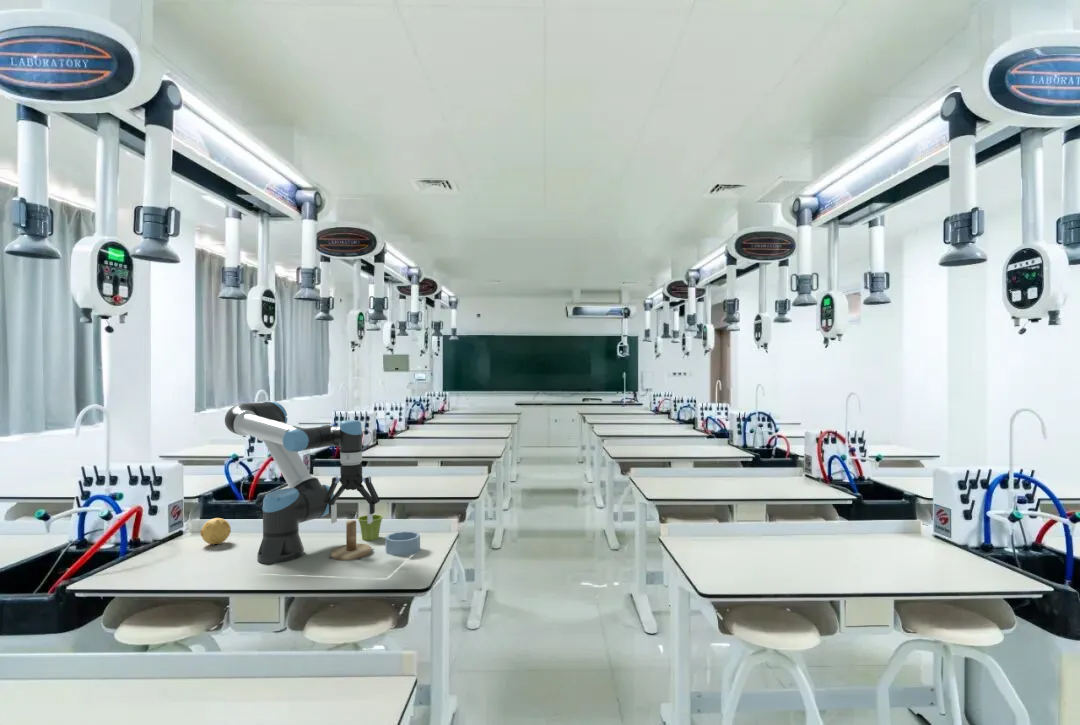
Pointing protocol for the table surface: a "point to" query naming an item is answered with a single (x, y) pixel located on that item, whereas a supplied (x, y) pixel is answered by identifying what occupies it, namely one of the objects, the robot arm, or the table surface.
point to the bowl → (402, 543)
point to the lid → (351, 545)
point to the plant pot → (370, 527)
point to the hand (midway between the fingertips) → (352, 522)
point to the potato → (215, 531)
